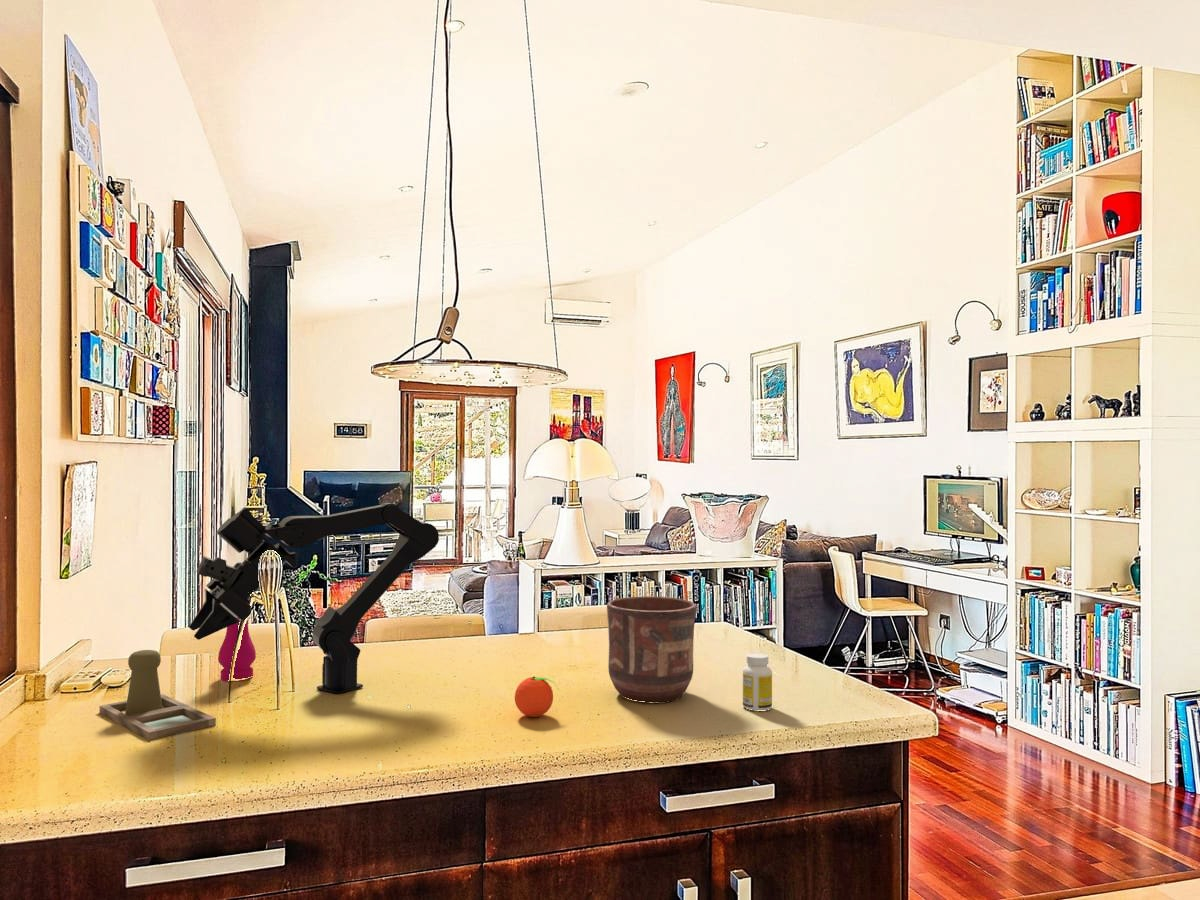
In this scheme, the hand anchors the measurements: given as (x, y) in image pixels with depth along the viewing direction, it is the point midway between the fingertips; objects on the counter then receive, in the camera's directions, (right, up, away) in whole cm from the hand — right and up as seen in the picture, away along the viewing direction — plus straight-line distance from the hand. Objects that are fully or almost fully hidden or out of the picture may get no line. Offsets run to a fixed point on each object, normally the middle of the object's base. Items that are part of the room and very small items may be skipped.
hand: (193, 633), depth 164 cm
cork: (-7, -13, -4) cm, 16 cm away
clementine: (+63, -14, -4) cm, 65 cm away
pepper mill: (0, -14, +21) cm, 25 cm away
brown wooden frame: (-3, -13, -8) cm, 16 cm away
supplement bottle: (+104, -15, +3) cm, 105 cm away
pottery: (+84, -14, +11) cm, 86 cm away
